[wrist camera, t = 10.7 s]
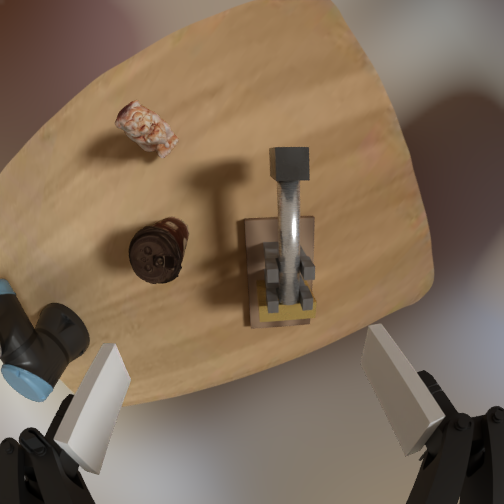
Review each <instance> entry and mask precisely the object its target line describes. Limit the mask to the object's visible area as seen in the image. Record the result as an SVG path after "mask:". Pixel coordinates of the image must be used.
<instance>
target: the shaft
mask: <svg viewBox="0 0 504 504" xmlns="http://www.w3.org/2000/svg"><path fill="white" fill-rule="evenodd" d="M269 155H270V176H271V177H272V178H273V179H274V180H276V181H277V203H278V251H279V302H280V303H281V304H284V305H294V304H296V303H298V301H299V275H300V180H309V147H274V148H269Z"/></svg>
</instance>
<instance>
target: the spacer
mask: <svg viewBox="0 0 504 504" xmlns="http://www.w3.org/2000/svg"><path fill="white" fill-rule="evenodd" d="M303 281H304V283H305V285H306V286H308V288H309V290H310V292H311V294H312V291H311V289H310V287H309V285H308V283H307V281H306V280H304V279H303ZM256 284H257V300H258V310H259V320H260V322H271V321H284V320H296V319H307V318H315V314H316V300H315V298H314V296H313V294H312V296H313V310H306V311H303V310H302V307H301V304H300V302H299V301H298V303H296V304H294V305H284V304H281V303H280V302H279V313H268V308H267V302H266V285H265V280H257V281H256ZM278 301H279V299H278Z"/></svg>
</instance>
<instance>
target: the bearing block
mask: <svg viewBox="0 0 504 504" xmlns="http://www.w3.org/2000/svg"><path fill="white" fill-rule="evenodd" d="M245 236H246V253H247V271H248V288H249V304H250V321H251V329H252V328H268V327H282V326H294V325H305V324H310V318H307V319H296V320H284V321H271V322H260V320H259V310H258V300H257V284H256V281H257V280H265V285H266V302H267V308H268V313H279V301H278V299H279V251H278V217H268V218H248V219H245ZM313 258H314V217H313V216H300V275H299V302H300V304H301V307H302V310H303V311H306V310H313V296H312V294H311V292H310V290H309V288H308V286H306V285H305V283H304V281H303V279H304V280H306V281H307V283H308V285H309V287H310V289H311V291H312V281H313V280H315V265H314V264H313Z"/></svg>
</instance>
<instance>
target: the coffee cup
mask: <svg viewBox="0 0 504 504" xmlns="http://www.w3.org/2000/svg"><path fill="white" fill-rule="evenodd" d="M188 236H189V232H188V227H187V225H186V224H185V223H184V222H183V221H182V220H180V219H179V218H176V217H169V218H166V219H163V220H162V221H160V222H158V223H156V224H155V225H153V226H146V227H144V228H143V229H141V230H139V231H138V232H137V233H136V234H135V236H134V237H133V239H132V241H131V243H130V247H129V259H130V263H131V265H132V268H133V270H134V272H135V273H136V275H137V276H138V277H140V278H141V279H142V280H145V281H146V282H149V283H152V284H156V283H167V282H170V281H172V280H174V279H175V278H176V277H178V274H179V272H180V270H181V269H182V267H181V263H182V261H183V257H184V252H185V249H186V246H187V241H188Z"/></svg>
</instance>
